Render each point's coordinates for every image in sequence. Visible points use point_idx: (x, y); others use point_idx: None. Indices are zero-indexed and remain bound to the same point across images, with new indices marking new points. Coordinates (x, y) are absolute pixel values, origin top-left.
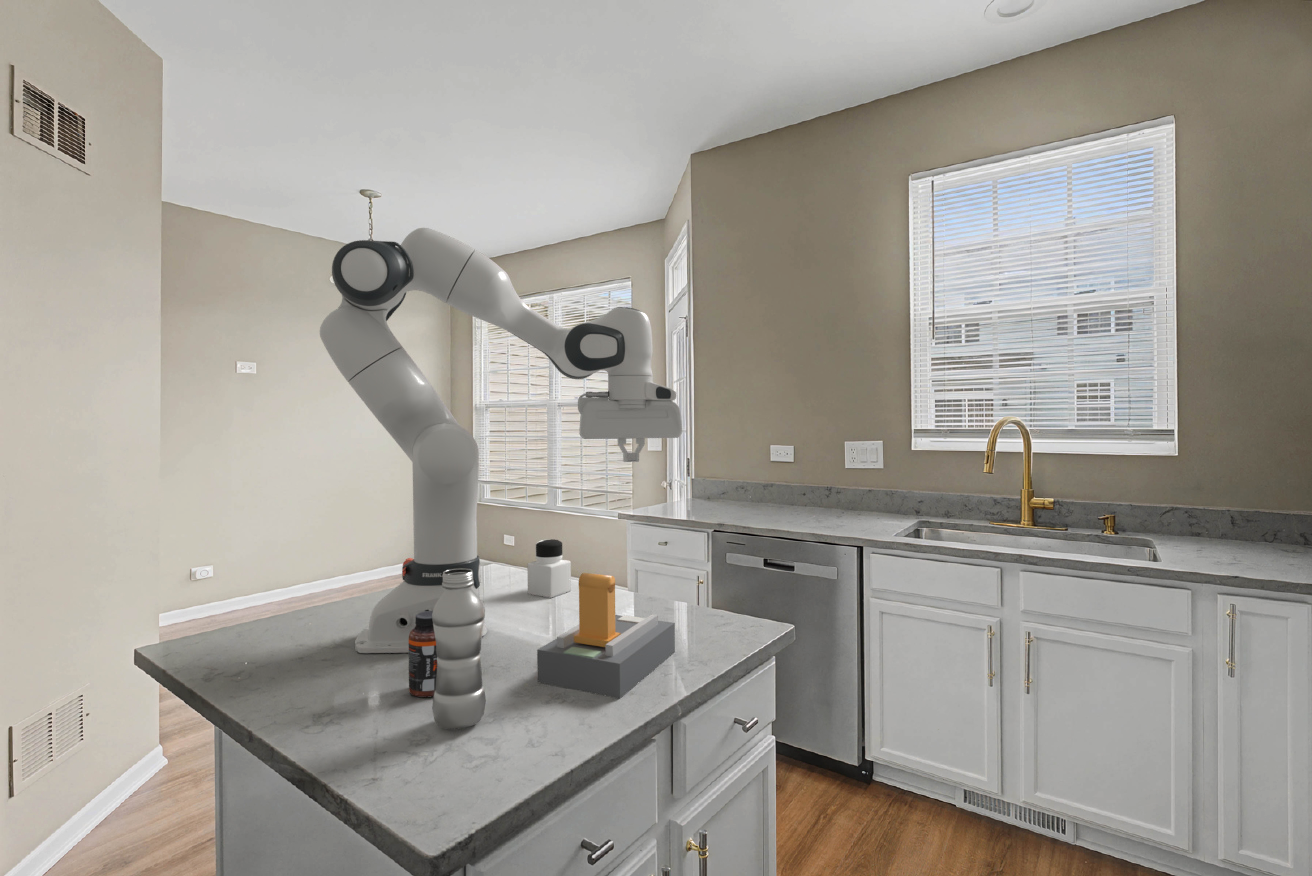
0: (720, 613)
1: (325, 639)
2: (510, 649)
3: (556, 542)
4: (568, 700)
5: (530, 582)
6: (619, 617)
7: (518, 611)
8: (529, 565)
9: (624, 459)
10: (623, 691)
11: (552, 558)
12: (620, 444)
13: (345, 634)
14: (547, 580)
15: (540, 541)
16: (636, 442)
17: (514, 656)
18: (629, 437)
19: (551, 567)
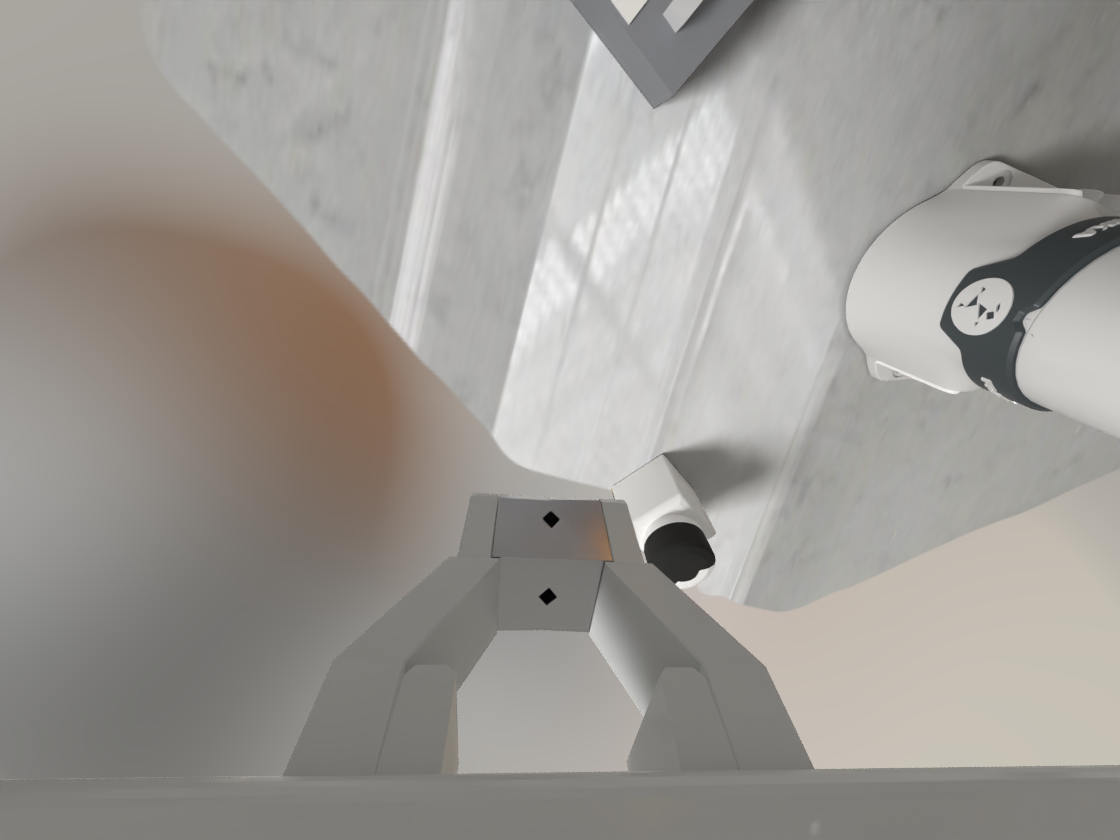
0: (315, 229)
1: None
2: (858, 129)
3: (671, 556)
4: None
5: (698, 501)
6: (644, 18)
7: (746, 391)
8: (712, 527)
9: (627, 517)
10: None
11: (675, 520)
12: (745, 667)
13: None
14: (677, 479)
15: (705, 571)
16: (455, 755)
17: (872, 68)
18: (647, 788)
19: (678, 494)
